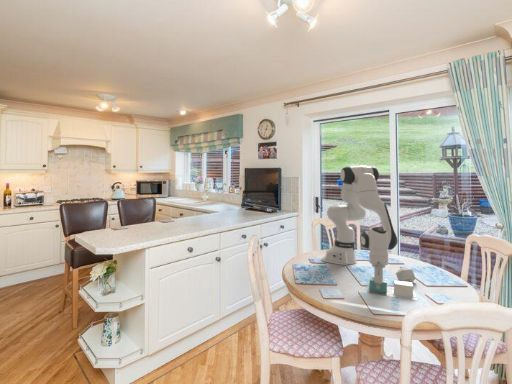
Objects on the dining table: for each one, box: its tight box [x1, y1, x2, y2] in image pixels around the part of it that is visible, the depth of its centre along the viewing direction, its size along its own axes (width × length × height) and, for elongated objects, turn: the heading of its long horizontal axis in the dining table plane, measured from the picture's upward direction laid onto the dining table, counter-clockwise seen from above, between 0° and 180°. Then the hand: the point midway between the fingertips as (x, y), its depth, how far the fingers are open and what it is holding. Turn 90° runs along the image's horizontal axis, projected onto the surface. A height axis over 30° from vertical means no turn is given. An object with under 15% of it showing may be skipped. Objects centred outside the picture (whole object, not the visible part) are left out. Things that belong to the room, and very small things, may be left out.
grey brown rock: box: [395, 266, 416, 283], centre depth 150 cm, size 8×9×10 cm
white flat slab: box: [366, 282, 418, 301], centre depth 138 cm, size 22×13×1 cm, turn 66°
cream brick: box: [393, 279, 414, 296], centre depth 135 cm, size 8×5×5 cm, turn 66°
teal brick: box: [369, 276, 388, 292], centre depth 140 cm, size 8×5×5 cm, turn 66°
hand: (377, 285), depth 140 cm, fingers closed on teal brick, 5 cm apart
